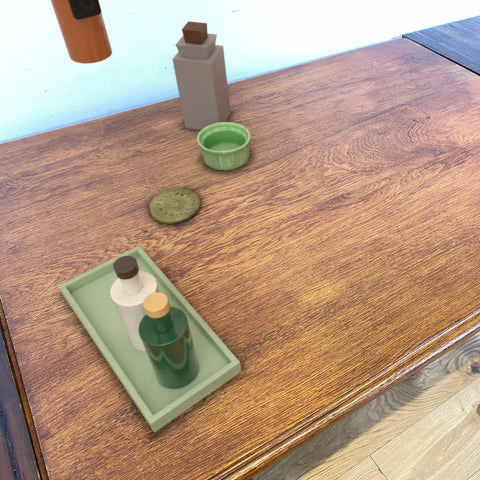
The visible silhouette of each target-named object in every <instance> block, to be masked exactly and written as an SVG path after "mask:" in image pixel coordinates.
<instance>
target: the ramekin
mask: <svg viewBox="0 0 480 480" xmlns="http://www.w3.org/2000/svg"><path fill="white" fill-rule="evenodd" d="M251 136H252V135H251V132H250V131H249V129H248V128H247V127H246V126H244V125H242V124H240V123H236V122H232V121H231V122H230V121H226V122H220V123H215V124H211V125H209V126H207V127H205V128H203V129H202V130H199V132H198V133H197V136H196V142H197V144H198V146H199V149H200V154H201V157H202V161H203V162H204V164H205V165H206V166H208V167H209V168H211V169H214V170H218V171H231V170H235V169H239V168H240V167H242V166H243V165H245V164H246V163H247V162H248V160H249V157H250V143H251V138H252V137H251Z"/></svg>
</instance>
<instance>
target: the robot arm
mask: <svg viewBox="0 0 480 480" xmlns="http://www.w3.org/2000/svg"><path fill="white" fill-rule="evenodd" d="M68 1H69V5H70V8H71V11H72V14H73V17H74V18H75V19H77V20H80V19H84V18H88V17H92V16H96V15H99V14H101V11H102V8H101V4H100V0H68Z"/></svg>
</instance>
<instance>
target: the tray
mask: <svg viewBox="0 0 480 480" xmlns="http://www.w3.org/2000/svg"><path fill="white" fill-rule="evenodd" d="M122 256H132V257H134V258H135V259H136V261H137V263H138V266H139V271H144V272H147V273H150V274H151V275H153V276H154V278H155V279H156V281H157V285H158V288H159V291H160V293H163V294H165V295H166V296H167V298H168V301H169V304H170V306H172V307H176V308H178V309H180V310H182V311H183V312H184V313H185V315H186V317H187V320H188V323H189V327H190V331H191V335H192V339H193V342H194V346H195V350H196V354H197V357H198V361H199V372H198V375H197V376H196V378H195V379H194V380H193V381H192V382H191V383H190V384H189V385H187V386H185V387H183V388H179V389H169V388H166V387H163V386H162V385H161V384H160V383H159V382H158V381H157V378H156V376H155V373H154V371H153V368H152V366H151V363H150V361H149V358H148V356H147V353H146V351H140V350H137V349H136V348H134V347H133V346H132V345H131V343H130V341H129V338H128V336H127V334H126V331H125V329H124V327H123V324H122V322H121V319H120V317H119V315H118V312H117V310H116V308H115V305H114V303H113V301H112V298H111V295H110V290H111V287H112V285H113V283H114V282H115V281H116V280H117V279H118V277H117V276H116V273H115V271H114V268H113V264H114V262H115V261H116V260H117V259H118V258H120V257H122ZM58 289H59V290H60V293H61V295H62V296H63V298H64V299H65V301H66V302H67V305H69V306H70V308H71V309H72V311H73V312H74V315H76V317H77V318H78V321H80V323H81V325H82V327H83V328H84V329H85V330H86V332H87V334H88V335H89V337H90V339H91V340H92V341H93V343H94V345H96V347H97V349H98V350H99V352H100V353H101V355H102V356H103V358H104V359H105V361H106V362H107V364H108V365H109V367H110V368H111V370H112V371H113V373H114V374H115V376H116V377H117V379H118V380H119V382H120V383H121V385H122V386H123V388H124V389H125V391H126V392H127V394H128V396H129V397H130V398H131V399H132V402H134V404H135V406H136V407H137V409H138V411H139V412H140V413H141V415H142V416H143V418H144V420H145V421H146V423H147V424H148V425H149V427H150V428H151V430H152V432H154V433H157V432H158V431H159V430H160V429H162V428H164V427H165V426H166V425H168V424H169V423H171V422H172V421H174V420H175V419H176V418H178V417H179V416H181V415H182V414H183V413H186V411H188V410H189V409H190V408H192V407H193V406H194V405H196V404H198V403H199V402H200V401H202V400H203V399H204V398H206V397H207V396H209V395H210V394H212V393H214V392H215V391H216V390H218V389H219V388H220V387H222V386H223V385H225V384H226V383H227V382H228V381H229V382H230V380H231V379H233V378H235V377H236V376H237V375H239V374H240V373H242V364H241V362H240V360H239V359H238V357H236V356H235V355H234V353H233V352H232V351H231V350H230V348H229V347H227V345H226V344H225V343H224V342H223V340H222V339H221V338H220V337H219V336H218V334H216V333H215V331H214V330H213V329H212V328H211V326H210V325H209V324H208V323H207V322H206V321H205V320H204V319H203V317H202V316H201V315H200V314H199V313H198V311H197V310H196V309H195V308H194V307H193V306H192V305H191V304H190V302H189V301H188V300H187V299H186V298H185V296H184V295H183V294H182V293H181V292H180V290H178V288H177V287H176V286H175V285H174V284H173V283H172V282H171V281H170V279H169V278H168V277H167V276H166V275H165V273H164V272H163V271H162V270H161V269H160V268H159V266H158V265H157V264H156V263H155V262H154V261H153V259H152V258H151V257H150V256H149V255H148V253H146V251H145V250H144V249H143V248H142V247H141V245H137V246H134V247H133V248H130V249H129V250H127V251H125V252H122V253H121V254H119V255H116V256H115V257H113V258H110V259H109V260H107V261H104V262H103V263H101V264H98V265H96V266H95V267H93V268H90V269H88V270H86V271H85V272H82V273H81V274H79V275H77V276H75V277H73V278H71V279H69V280H67V281H65V282H62V283H60V284H59V285H58Z"/></svg>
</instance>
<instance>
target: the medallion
mask: <svg viewBox="0 0 480 480" xmlns="http://www.w3.org/2000/svg"><path fill="white" fill-rule="evenodd" d="M201 203H202V202H201V197H200V196H199V194H198V193H196V191H195V192H194V191H193V190H190V189H188V188H184V187H183V188H182V187H176V188H175V187H173V188H170V189H167V190H163V191H160V192H158V193H157V194H156V195H154V197H153V198H152V199H151V200H150V201H149V204H148V211H149V213H150V215H151V217H152V218H153V219H154V220H155V221H157V222H159V223H162V224H165V225H175V224H179V223H182V222H185V221H187V220H189V219H190V218H191V217H193V216H195V214H196V213H197V212H198V211H199V209H200V207H201Z"/></svg>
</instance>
